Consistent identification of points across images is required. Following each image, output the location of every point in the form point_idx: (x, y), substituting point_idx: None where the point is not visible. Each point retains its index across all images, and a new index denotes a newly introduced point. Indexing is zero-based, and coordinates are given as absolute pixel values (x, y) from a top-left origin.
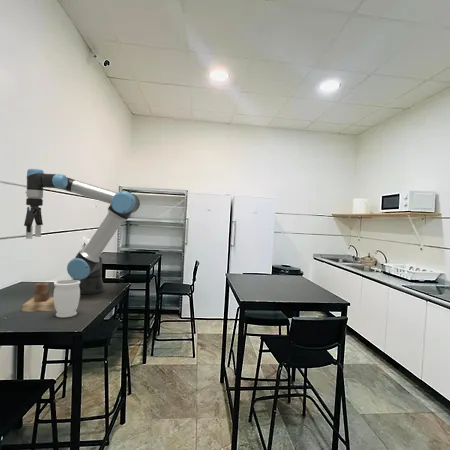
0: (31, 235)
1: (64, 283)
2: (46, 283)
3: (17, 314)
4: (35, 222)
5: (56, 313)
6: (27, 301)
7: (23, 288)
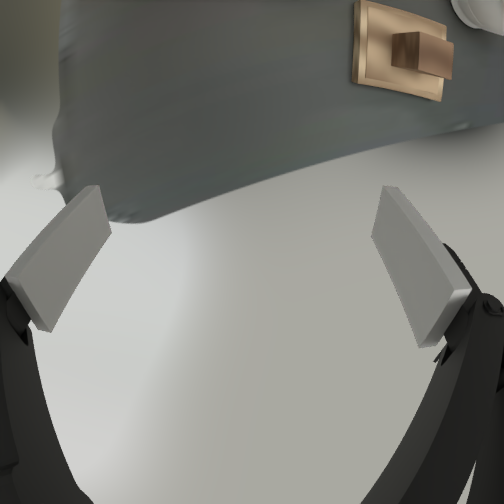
0: (410, 209)
1: (502, 4)
2: (432, 41)
3: (446, 106)
4: (36, 362)
5: (476, 26)
6: (406, 91)
7: (141, 171)
